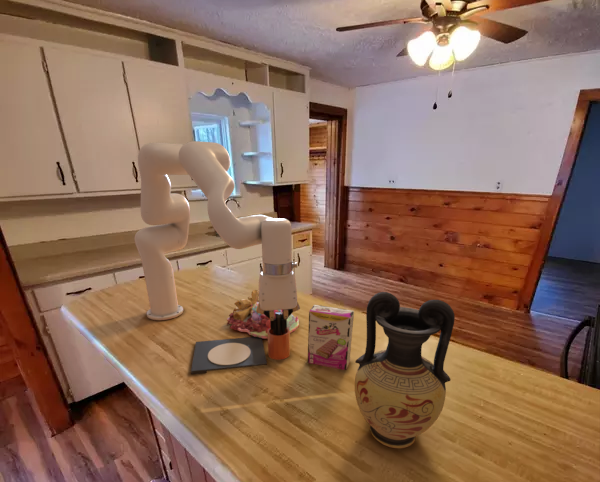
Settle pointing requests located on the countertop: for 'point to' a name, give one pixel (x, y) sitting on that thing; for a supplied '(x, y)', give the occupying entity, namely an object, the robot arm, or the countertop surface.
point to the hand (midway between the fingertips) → (278, 330)
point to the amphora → (403, 369)
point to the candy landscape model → (255, 318)
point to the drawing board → (228, 354)
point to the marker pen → (278, 323)
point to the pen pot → (278, 344)
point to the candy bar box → (330, 336)
